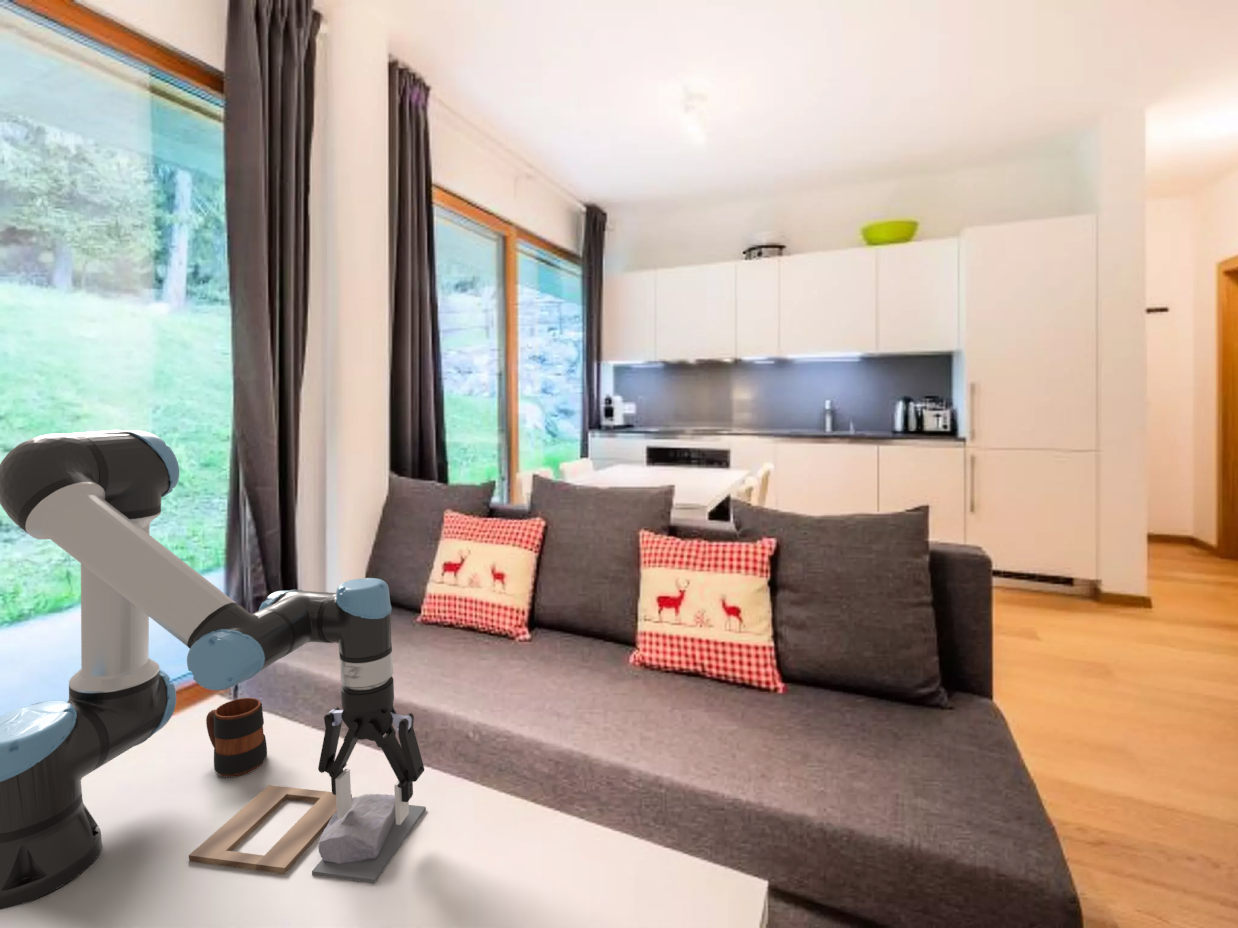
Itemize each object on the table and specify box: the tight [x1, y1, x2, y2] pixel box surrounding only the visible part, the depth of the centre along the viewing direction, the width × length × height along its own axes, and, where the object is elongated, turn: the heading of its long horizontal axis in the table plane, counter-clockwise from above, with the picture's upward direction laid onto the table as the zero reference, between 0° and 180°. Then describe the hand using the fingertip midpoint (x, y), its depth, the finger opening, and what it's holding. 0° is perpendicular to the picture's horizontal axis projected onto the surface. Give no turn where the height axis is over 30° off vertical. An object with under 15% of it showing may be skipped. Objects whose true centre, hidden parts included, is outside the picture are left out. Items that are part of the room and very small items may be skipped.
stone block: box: [318, 793, 396, 864], centre depth 96 cm, size 12×5×10 cm
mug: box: [205, 697, 268, 778], centre depth 116 cm, size 9×12×12 cm
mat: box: [311, 804, 427, 884], centre depth 96 cm, size 10×16×1 cm, turn 172°
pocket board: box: [188, 784, 353, 875], centre depth 99 cm, size 16×17×1 cm
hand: (373, 815), depth 96 cm, fingers open, 9 cm apart
